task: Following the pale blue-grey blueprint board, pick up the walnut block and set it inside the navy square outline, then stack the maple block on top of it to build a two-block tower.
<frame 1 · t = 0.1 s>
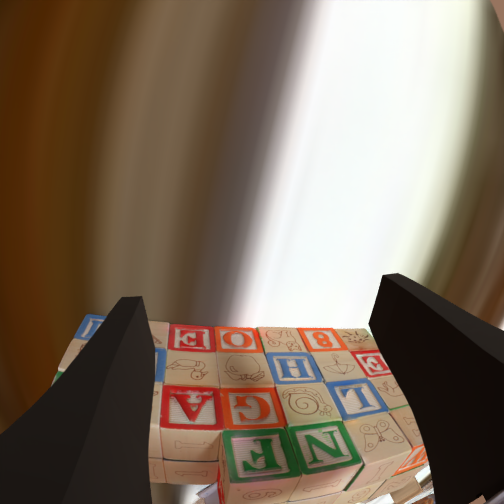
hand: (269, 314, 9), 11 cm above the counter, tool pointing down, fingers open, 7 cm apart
stack of blocks: (230, 357, 23), on the counter
tin: (415, 502, 51), on the counter
maple block: (399, 479, 37), point 1 cm above the counter, touching blueprint board
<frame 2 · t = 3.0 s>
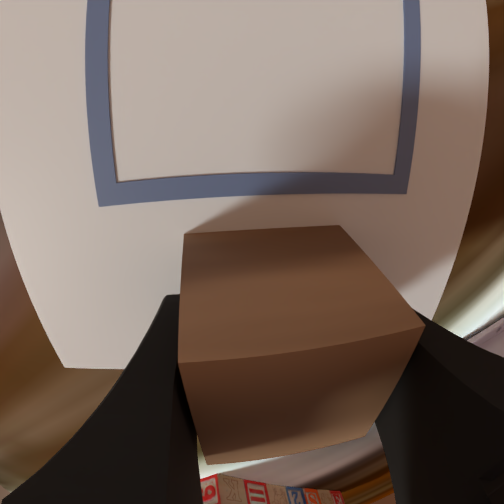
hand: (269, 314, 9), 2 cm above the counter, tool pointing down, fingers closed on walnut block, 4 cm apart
walnut block: (263, 293, 10), point 1 cm above the counter, touching blueprint board, gripper
blueprint board: (264, 29, 6), on the counter
stack of blocks: (269, 493, 24), on the counter
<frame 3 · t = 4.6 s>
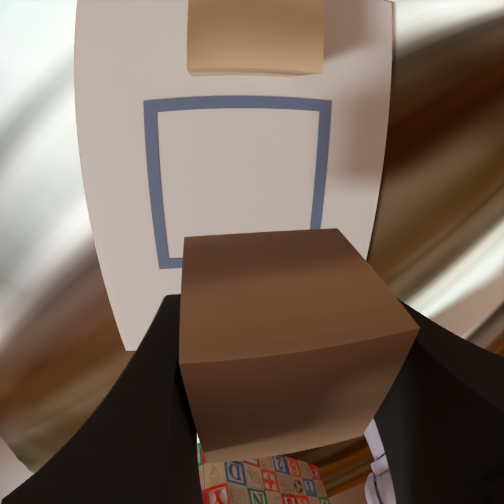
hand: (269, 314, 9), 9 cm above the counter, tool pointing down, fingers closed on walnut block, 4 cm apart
walnut block: (261, 295, 10), point 8 cm above the counter, touching gripper
blueprint board: (238, 182, 16), on the counter
stack of blocks: (259, 459, 34), on the counter
maple block: (241, 31, 11), point 1 cm above the counter, touching blueprint board
when the fingers open (3 cm above the counter, at t = 6.5 s): walnut block drops 1 cm, resting on blueprint board.
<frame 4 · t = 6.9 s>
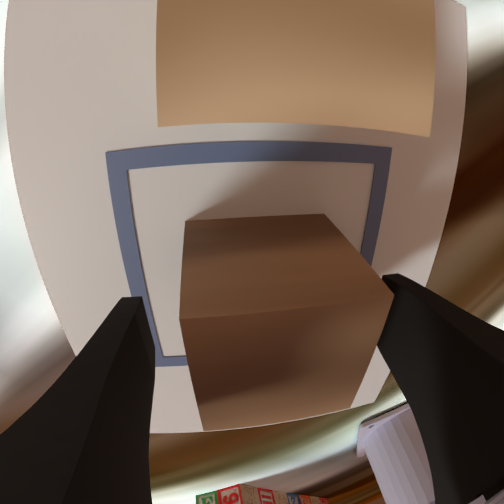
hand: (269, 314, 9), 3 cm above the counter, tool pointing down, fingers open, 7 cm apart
walnut block: (256, 276, 11), point 1 cm above the counter, touching blueprint board
blueprint board: (253, 263, 11), on the counter
stack of blocks: (271, 498, 29), on the counter
maple block: (260, 33, 7), point 1 cm above the counter, touching blueprint board
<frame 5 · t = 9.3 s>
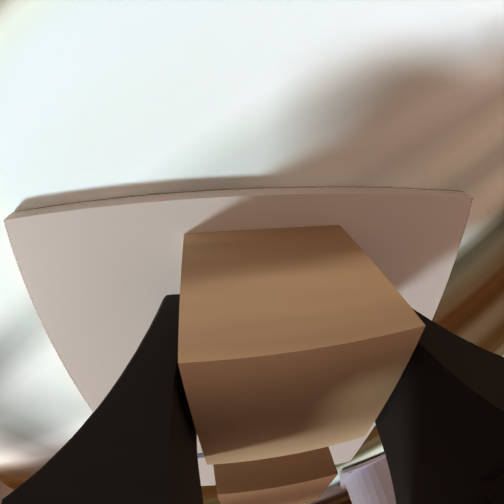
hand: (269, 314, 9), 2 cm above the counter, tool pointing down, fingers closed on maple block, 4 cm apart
walnut block: (257, 419, 14), point 1 cm above the counter, touching blueprint board
blueprint board: (255, 408, 14), on the counter
maple block: (263, 293, 10), point 1 cm above the counter, touching blueprint board, gripper
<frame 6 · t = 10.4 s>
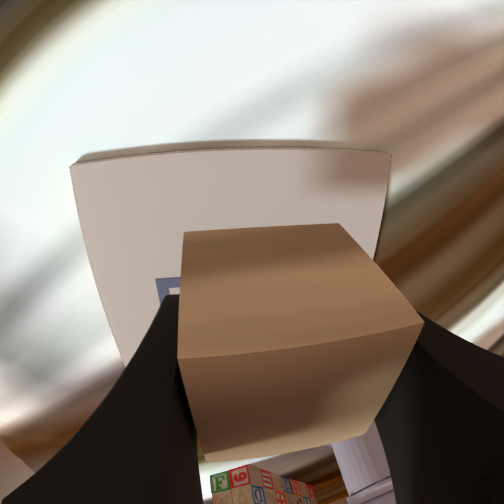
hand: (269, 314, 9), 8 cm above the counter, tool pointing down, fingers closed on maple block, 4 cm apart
blueprint board: (239, 327, 19), on the counter
stack of blocks: (267, 481, 38), on the counter
maple block: (262, 291, 10), point 7 cm above the counter, touching gripper
when the fingers open (7 cm above the counter, at t = 11.8 s): maple block drops 1 cm, resting on walnut block.
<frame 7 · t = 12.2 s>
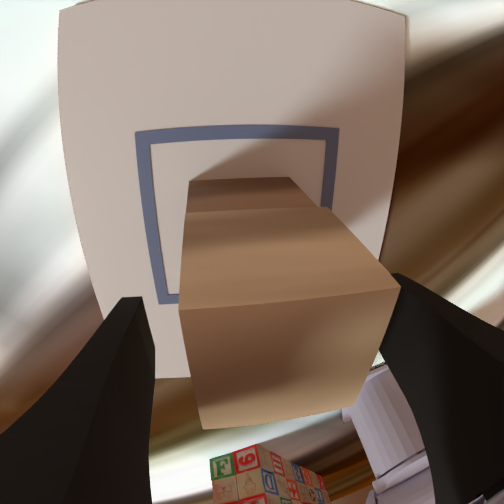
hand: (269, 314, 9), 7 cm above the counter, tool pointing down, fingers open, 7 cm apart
walnut block: (240, 224, 15), point 1 cm above the counter, touching blueprint board, maple block
blueprint board: (239, 216, 15), on the counter
stack of blocks: (274, 469, 33), on the counter
maple block: (257, 270, 11), point 5 cm above the counter, touching walnut block
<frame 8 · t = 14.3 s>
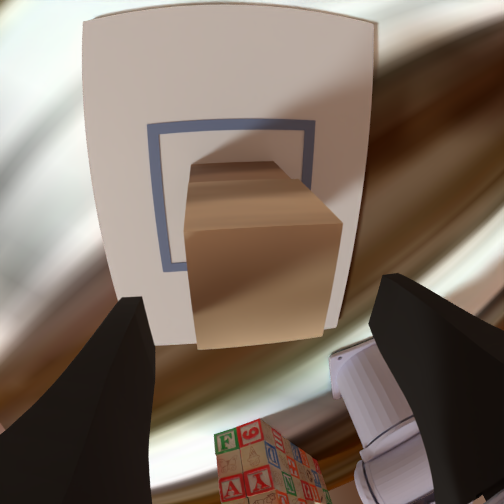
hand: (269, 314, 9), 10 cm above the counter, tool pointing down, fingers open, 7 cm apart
walnut block: (233, 201, 17), point 1 cm above the counter, touching blueprint board, maple block
blueprint board: (232, 195, 18), on the counter
stack of blocks: (273, 449, 36), on the counter
maple block: (244, 230, 13), point 5 cm above the counter, touching walnut block
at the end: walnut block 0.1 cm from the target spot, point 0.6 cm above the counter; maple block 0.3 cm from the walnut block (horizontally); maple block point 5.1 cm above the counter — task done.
